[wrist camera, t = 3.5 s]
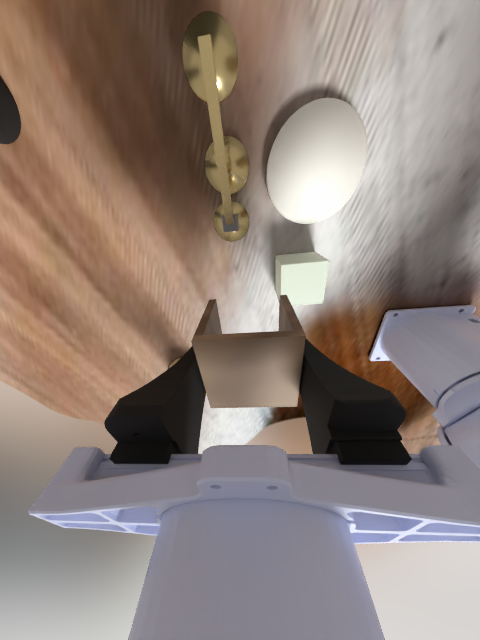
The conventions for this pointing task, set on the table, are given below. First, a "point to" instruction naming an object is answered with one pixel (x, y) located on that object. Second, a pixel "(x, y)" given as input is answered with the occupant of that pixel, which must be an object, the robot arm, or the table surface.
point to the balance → (218, 114)
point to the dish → (316, 161)
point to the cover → (250, 361)
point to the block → (301, 277)
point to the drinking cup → (8, 116)
